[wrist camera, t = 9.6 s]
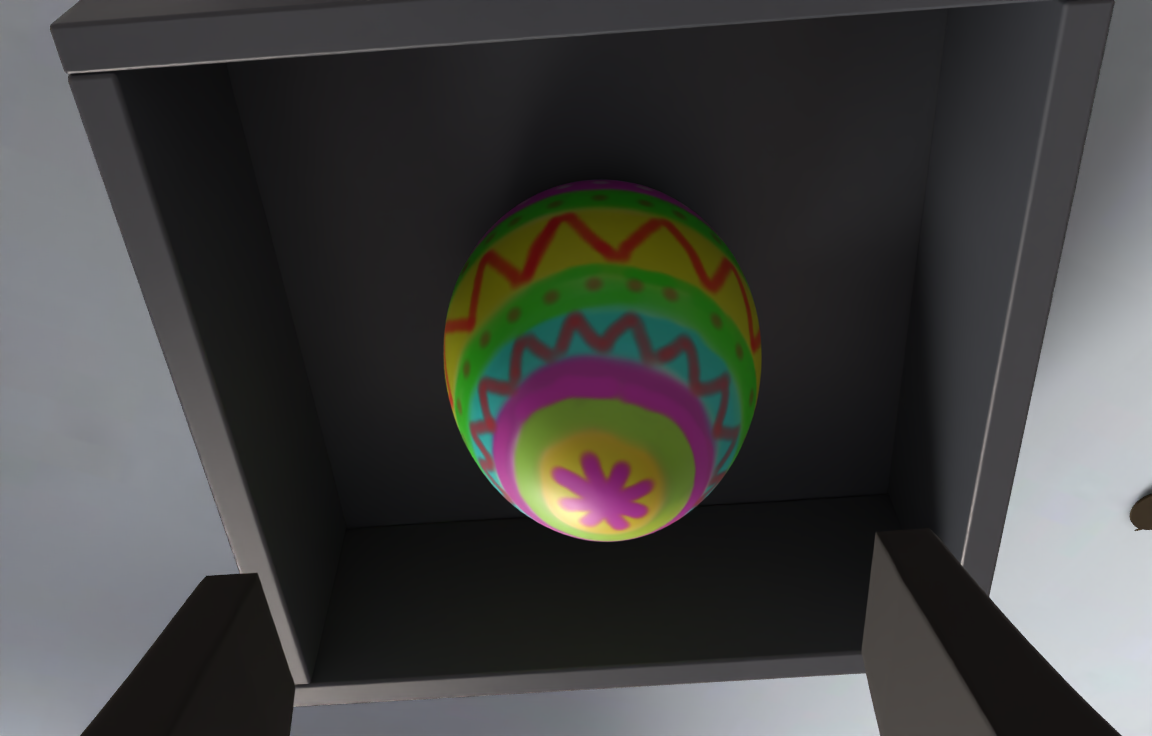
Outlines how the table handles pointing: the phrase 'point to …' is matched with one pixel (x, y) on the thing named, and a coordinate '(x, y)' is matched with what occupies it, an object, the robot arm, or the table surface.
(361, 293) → the bin
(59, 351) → the table surface
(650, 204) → the egg
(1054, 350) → the table surface
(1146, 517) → the beaded bracelet
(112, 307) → the table surface
